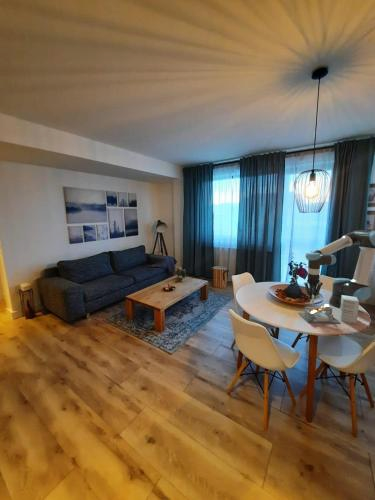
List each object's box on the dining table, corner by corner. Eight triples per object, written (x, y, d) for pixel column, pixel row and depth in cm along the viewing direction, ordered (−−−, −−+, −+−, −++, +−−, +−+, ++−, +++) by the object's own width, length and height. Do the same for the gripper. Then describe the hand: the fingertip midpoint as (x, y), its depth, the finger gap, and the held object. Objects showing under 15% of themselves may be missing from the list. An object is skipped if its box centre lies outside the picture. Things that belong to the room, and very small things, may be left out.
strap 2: (310, 316, 149) (310, 314, 148) (308, 314, 152) (307, 312, 152) (330, 306, 146) (329, 305, 146) (327, 305, 150) (326, 303, 149)
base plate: (327, 313, 161) (328, 304, 159) (340, 323, 146) (341, 313, 145) (298, 313, 162) (298, 304, 161) (307, 322, 148) (308, 313, 146)
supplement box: (339, 315, 157) (341, 294, 155) (354, 318, 153) (356, 296, 150) (340, 321, 149) (342, 299, 147) (356, 324, 145) (359, 301, 142)
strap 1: (326, 309, 158) (326, 308, 158) (328, 311, 155) (328, 309, 155) (306, 307, 159) (306, 306, 159) (308, 309, 156) (308, 308, 156)
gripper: (320, 272, 156) (318, 301, 160) (302, 272, 157) (300, 301, 161) (325, 274, 149) (323, 305, 153) (307, 275, 150) (305, 305, 154)
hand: (311, 303), depth 157 cm, fingers closed
